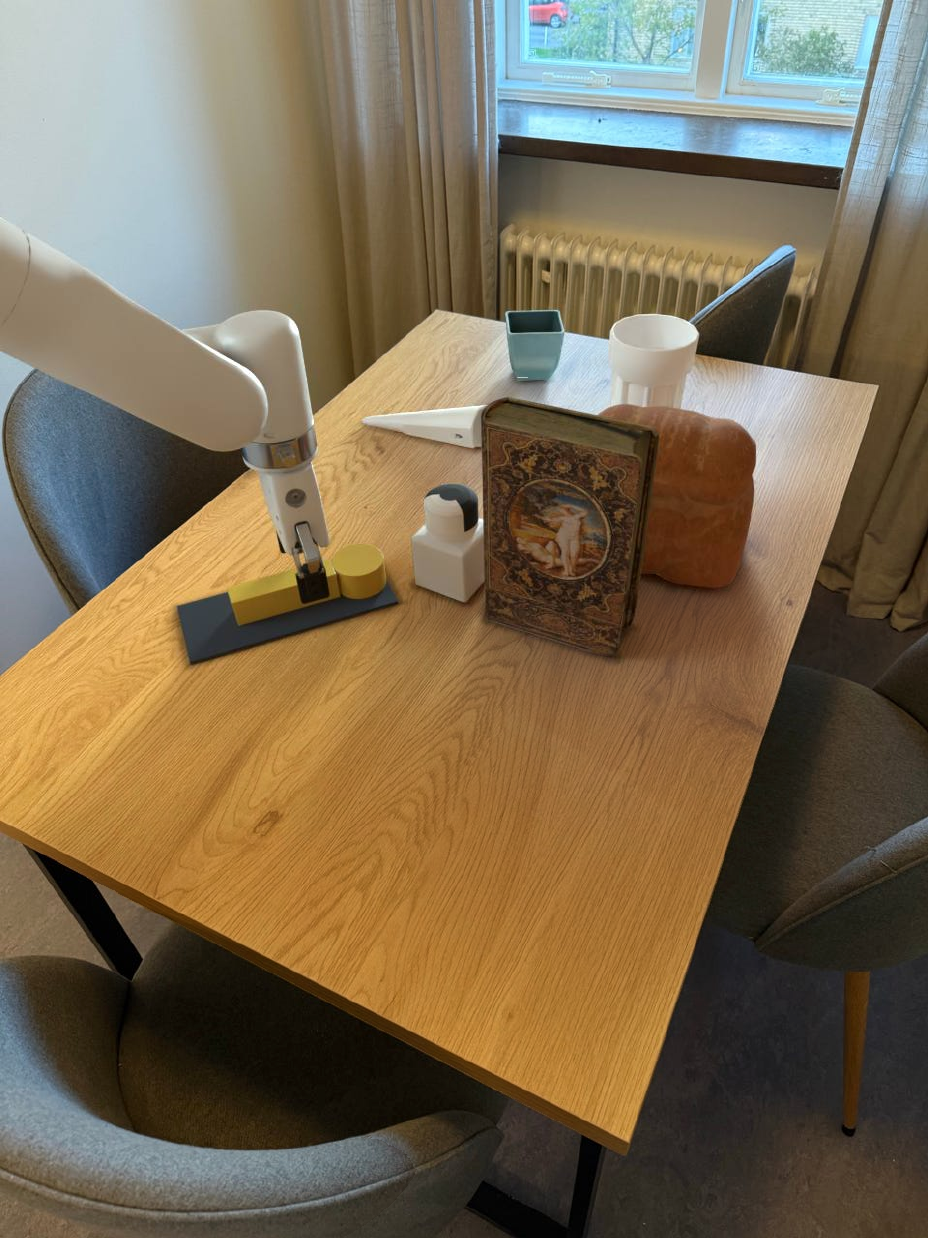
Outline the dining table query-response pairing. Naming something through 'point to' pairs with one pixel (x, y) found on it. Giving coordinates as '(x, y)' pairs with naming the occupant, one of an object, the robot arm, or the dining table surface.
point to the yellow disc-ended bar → (349, 574)
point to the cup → (651, 360)
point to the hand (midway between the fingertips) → (304, 573)
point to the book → (564, 520)
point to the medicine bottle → (450, 543)
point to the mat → (262, 622)
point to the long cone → (436, 424)
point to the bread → (696, 494)
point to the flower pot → (534, 343)
